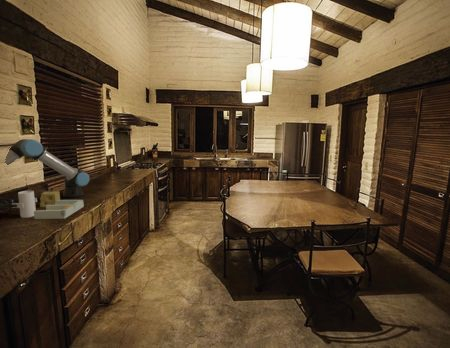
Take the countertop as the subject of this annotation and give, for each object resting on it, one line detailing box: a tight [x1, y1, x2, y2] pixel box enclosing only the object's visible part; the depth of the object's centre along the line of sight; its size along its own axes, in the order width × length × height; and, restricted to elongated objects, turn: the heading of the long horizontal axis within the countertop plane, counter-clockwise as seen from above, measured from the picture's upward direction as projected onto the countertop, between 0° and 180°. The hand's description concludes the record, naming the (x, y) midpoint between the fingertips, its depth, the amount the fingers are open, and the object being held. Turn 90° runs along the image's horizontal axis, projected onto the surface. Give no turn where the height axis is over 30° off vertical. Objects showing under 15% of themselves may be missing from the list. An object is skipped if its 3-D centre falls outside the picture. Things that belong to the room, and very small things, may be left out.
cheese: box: [39, 190, 61, 208], centre depth 194 cm, size 10×11×10 cm
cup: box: [17, 190, 36, 219], centre depth 169 cm, size 8×8×16 cm
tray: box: [33, 199, 85, 220], centre depth 177 cm, size 18×28×6 cm, turn 6°
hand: (30, 202), depth 168 cm, fingers open, 13 cm apart
